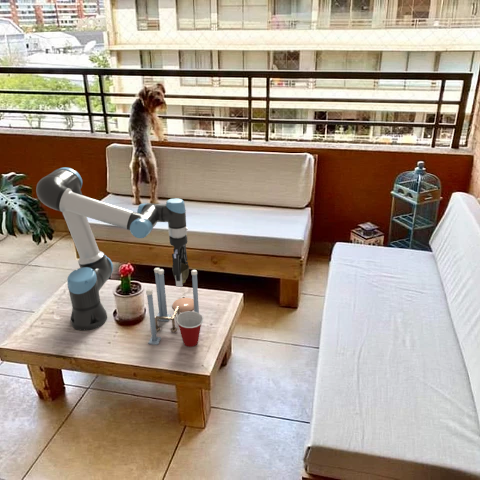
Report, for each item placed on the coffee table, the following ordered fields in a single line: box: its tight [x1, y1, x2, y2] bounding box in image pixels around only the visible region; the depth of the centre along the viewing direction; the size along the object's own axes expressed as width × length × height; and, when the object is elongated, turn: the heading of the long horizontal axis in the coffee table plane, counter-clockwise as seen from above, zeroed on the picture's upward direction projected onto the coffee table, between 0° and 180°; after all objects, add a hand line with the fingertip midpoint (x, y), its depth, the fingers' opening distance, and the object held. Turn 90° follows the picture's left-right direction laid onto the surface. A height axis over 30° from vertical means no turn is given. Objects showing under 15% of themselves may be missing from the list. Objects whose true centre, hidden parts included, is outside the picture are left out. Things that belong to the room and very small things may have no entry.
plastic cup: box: [175, 310, 204, 347], centre depth 178 cm, size 11×11×12 cm
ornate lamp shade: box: [171, 263, 190, 285], centre depth 195 cm, size 8×7×8 cm
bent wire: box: [155, 306, 181, 333], centre depth 191 cm, size 10×12×6 cm
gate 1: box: [145, 268, 172, 346], centre depth 184 cm, size 4×20×24 cm, turn 173°
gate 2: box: [153, 267, 200, 316], centre depth 191 cm, size 4×20×24 cm, turn 83°
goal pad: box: [172, 297, 194, 313], centre depth 205 cm, size 11×11×1 cm
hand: (181, 281), depth 197 cm, fingers closed on ornate lamp shade, 7 cm apart
